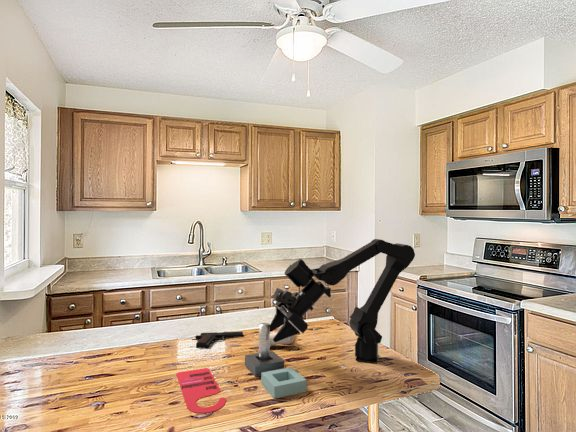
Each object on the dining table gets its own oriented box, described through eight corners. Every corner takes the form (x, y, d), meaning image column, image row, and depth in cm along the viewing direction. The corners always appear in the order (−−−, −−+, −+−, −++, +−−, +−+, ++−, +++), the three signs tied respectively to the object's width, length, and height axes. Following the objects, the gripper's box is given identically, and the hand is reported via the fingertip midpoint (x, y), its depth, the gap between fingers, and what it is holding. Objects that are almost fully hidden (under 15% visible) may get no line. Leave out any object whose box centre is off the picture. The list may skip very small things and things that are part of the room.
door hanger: (208, 367, 114) (230, 407, 91) (208, 369, 114) (230, 409, 91) (175, 372, 110) (189, 415, 87) (175, 374, 110) (189, 418, 87)
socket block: (272, 360, 120) (272, 350, 120) (284, 371, 112) (284, 360, 112) (244, 365, 116) (244, 355, 116) (255, 376, 108) (255, 366, 108)
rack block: (291, 377, 107) (291, 367, 107) (306, 391, 99) (306, 380, 99) (261, 383, 104) (261, 372, 104) (274, 398, 95) (274, 386, 95)
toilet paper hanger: (295, 346, 129) (291, 326, 130) (264, 352, 130) (260, 332, 130) (300, 333, 150) (296, 316, 150) (272, 339, 150) (269, 322, 151)
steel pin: (271, 366, 115) (271, 323, 115) (267, 371, 112) (267, 326, 112) (261, 365, 116) (261, 322, 116) (257, 369, 113) (257, 325, 113)
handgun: (247, 342, 133) (242, 330, 145) (196, 344, 129) (195, 331, 140) (247, 348, 133) (242, 336, 145) (196, 351, 129) (195, 337, 140)
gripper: (282, 274, 124) (248, 309, 122) (297, 285, 106) (256, 327, 104) (305, 297, 126) (272, 332, 124) (323, 312, 108) (285, 354, 106)
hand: (271, 335), depth 114 cm, fingers open, 9 cm apart
